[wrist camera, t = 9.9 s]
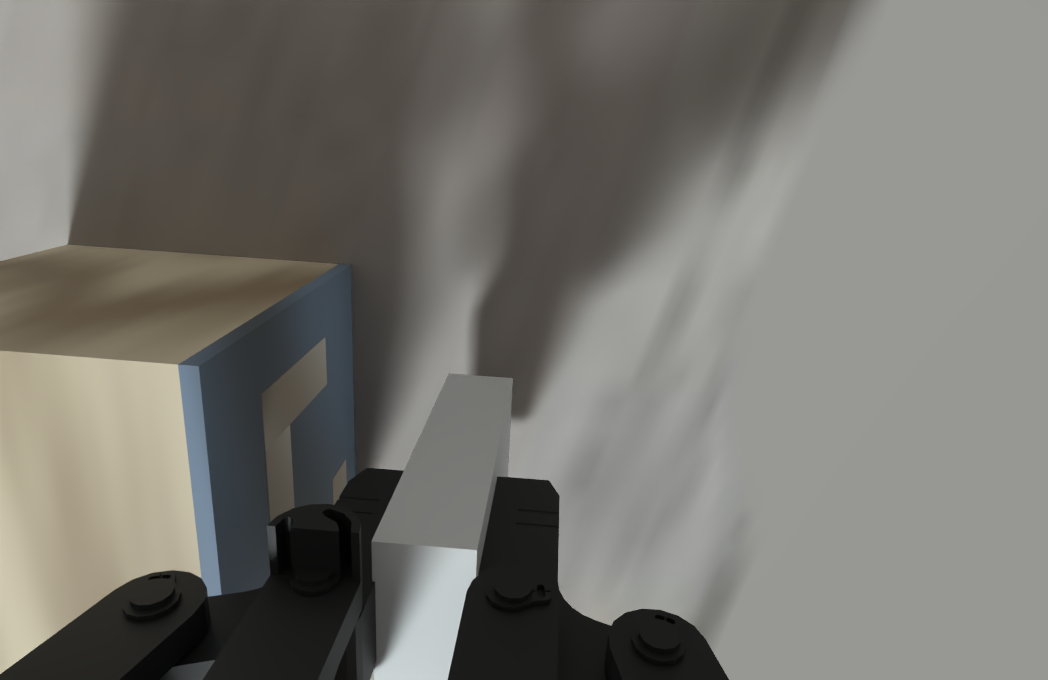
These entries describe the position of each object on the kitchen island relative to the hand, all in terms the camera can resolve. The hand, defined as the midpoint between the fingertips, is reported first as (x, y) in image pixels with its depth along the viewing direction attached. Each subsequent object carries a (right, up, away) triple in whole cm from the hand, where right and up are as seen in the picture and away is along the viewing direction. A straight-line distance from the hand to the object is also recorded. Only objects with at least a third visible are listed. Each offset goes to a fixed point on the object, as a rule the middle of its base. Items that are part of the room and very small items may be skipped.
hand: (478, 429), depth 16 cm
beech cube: (-4, 0, -2) cm, 4 cm away
